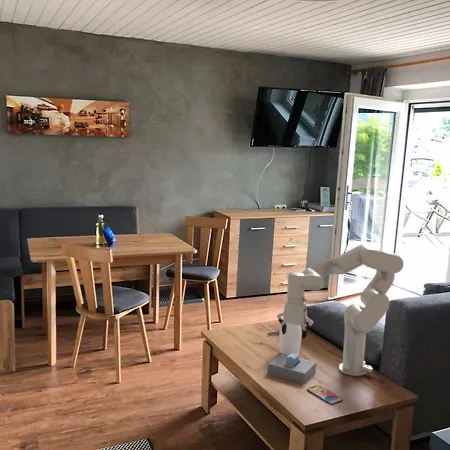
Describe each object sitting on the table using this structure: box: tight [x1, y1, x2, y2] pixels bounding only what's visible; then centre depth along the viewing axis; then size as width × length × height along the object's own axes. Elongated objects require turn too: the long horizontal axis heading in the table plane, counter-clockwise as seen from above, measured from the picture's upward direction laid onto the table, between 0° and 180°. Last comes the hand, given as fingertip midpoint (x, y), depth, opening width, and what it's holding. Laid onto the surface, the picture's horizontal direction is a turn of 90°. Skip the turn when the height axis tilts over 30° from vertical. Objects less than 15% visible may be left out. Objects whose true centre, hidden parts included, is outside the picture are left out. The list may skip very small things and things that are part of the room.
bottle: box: [278, 323, 302, 356], centre depth 256 cm, size 11×11×25 cm
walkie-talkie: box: [267, 328, 303, 336], centre depth 283 cm, size 9×4×20 cm
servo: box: [285, 353, 301, 368], centre depth 238 cm, size 4×9×8 cm, turn 149°
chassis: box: [267, 353, 317, 385], centre depth 238 cm, size 18×14×5 cm
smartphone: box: [306, 384, 343, 406], centre depth 218 cm, size 7×1×15 cm
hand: (294, 335), depth 235 cm, fingers open, 9 cm apart
